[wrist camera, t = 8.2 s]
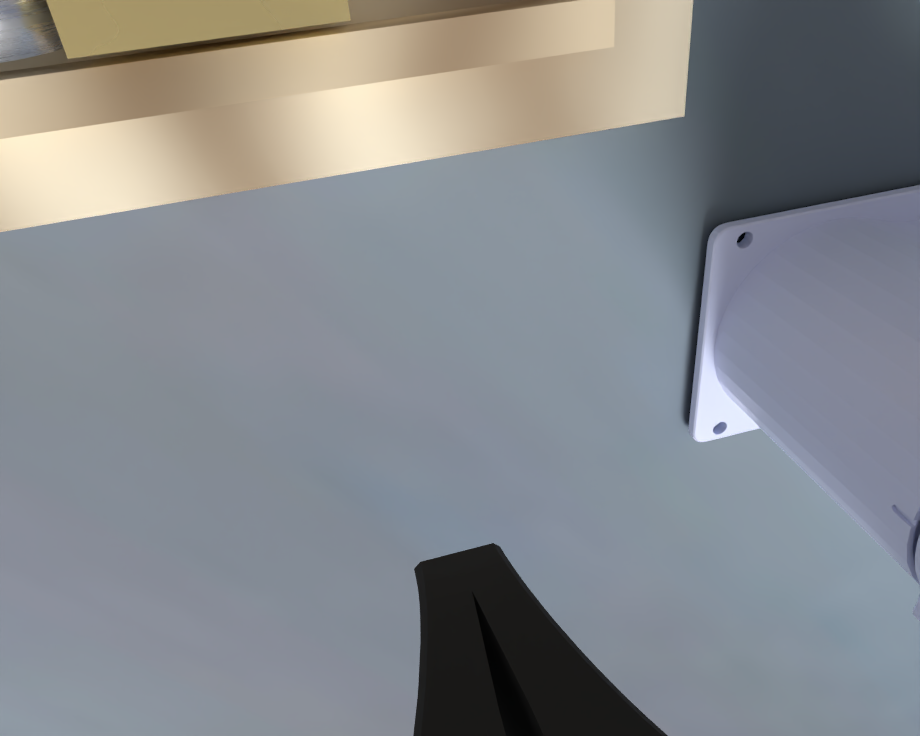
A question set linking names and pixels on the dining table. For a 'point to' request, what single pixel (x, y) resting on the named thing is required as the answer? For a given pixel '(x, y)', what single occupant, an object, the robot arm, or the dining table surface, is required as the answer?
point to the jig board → (328, 99)
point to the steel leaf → (26, 30)
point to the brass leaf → (179, 21)
